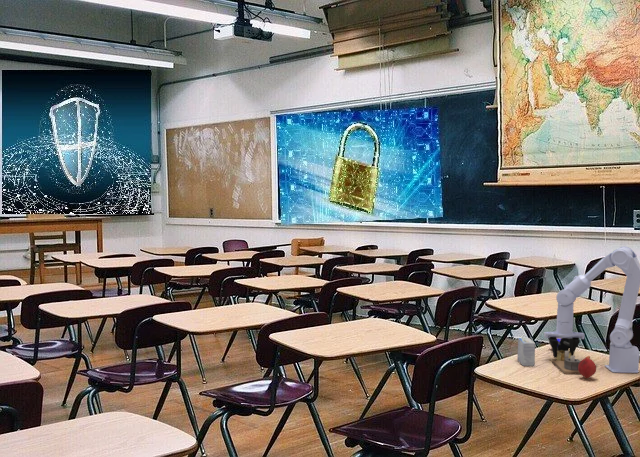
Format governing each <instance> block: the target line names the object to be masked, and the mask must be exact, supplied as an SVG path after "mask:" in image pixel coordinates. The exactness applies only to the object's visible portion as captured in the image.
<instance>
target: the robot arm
mask: <svg viewBox="0 0 640 457" xmlns="http://www.w3.org/2000/svg"><path fill="white" fill-rule="evenodd" d="M637 255H638V254H637V253H636V252H634V251H633V249H632V248H630V247H628V246H626V245H625V246H624V245H623V246H620V247H618V248H616V249H613V251H612V252H611V253H609V254H606V255H605V256H604V257H602V258H601V259H600V260H599V261H598V262H597V263H596V264H594V265H593V266H592V268H590V270H589V271H588V272H586V273H585V274H578V275H575V276H574V277H573V280H572V281H571V282H570V283H568V284H565V285H564V286H563V288H564V289H561V290H559V291H558V293H557V294H556V301H557V309H556V310H557V311H556V312H557V313H556V330H554V331H544V332H543V338H544V339H547V340H548V343H549V342H550V344H551V345H550V344H549V345H550V347H551V351H552V356H553V357H554V358H555V359H556V358H557V346H558V340H557V339H556V338H569V344H570V348H569V350H568V351H569V352H571V356H575V355H574V354H575V352H576V349H577V348H578V346H579V344H580V342H581V340H585V335H586V334H585V333H584V332H577V331H573V326H574V302H576V300H577V298H579V297H580V296H581V295H583V294H584V293H585V292H586V291H587V290H589V288H591V285H592V281H593V280H594V279H595V278H597V277H598V276H599V275H600V274H601V273H603V272H604V271H605V270H607V269H608V268H613V267H617V268H619V269H620V270H621V271H622V272H623V273H624V275H625V276H626V280H625V282H624V283H625V284H624V287H623V294H622V296H621V297H622V299H621V303H620V306H619V307H620V308H619V311H618V317H617V320H616V323H615V324H614V325H615V326H614V328H613V330H612V331H611V333H610V334H609V340H610V343H609V357H608V360H609V361H608V364H604V367H605V368H606V369H608V370H609V371H610V372H611V373H620V374H621V373H622V374H623V373H626V374H627V373H629V374H632V373H633V374H639V373H640V371H639V366H640V351H639V348H638V347H637V346H635V345H633V344H632V343H631V340H632V339H633V337H634V333H633V332H634V331H633V319H634V315H635V310H636V306H637V301H638V297H639V293H640V292H639V291H640V262H639V260H638V256H637ZM580 339H581V340H580ZM638 372H639V373H638Z"/></svg>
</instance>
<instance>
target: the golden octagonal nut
mask: <svg viewBox="0 0 640 457" xmlns="http://www.w3.org/2000/svg"><path fill="white" fill-rule="evenodd" d="M564 358H565V350H558V351H557V358H555V361H564ZM569 358H571V352H569Z"/></svg>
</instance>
